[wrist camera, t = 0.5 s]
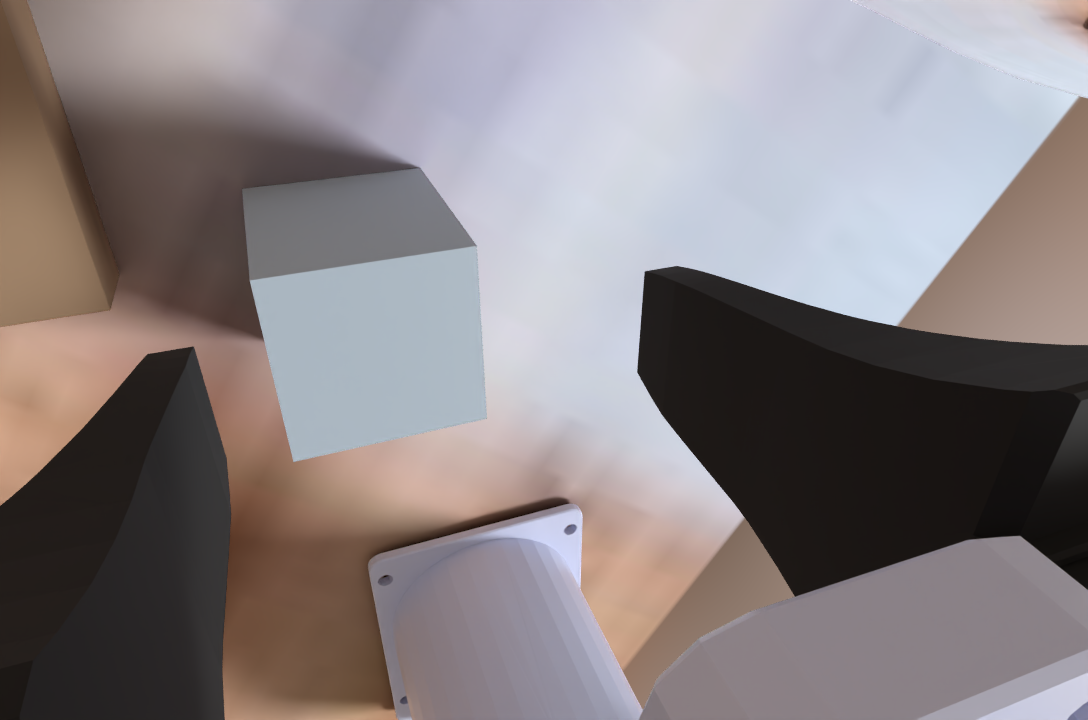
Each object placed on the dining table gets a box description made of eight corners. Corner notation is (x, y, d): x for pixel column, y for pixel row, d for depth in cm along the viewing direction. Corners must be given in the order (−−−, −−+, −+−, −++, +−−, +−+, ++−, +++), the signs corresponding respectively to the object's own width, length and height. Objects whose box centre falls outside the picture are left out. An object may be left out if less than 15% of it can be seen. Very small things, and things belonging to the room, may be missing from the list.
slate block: (434, 314, 22) (486, 418, 18) (277, 342, 21) (293, 461, 17) (419, 167, 20) (476, 245, 16) (241, 188, 19) (249, 280, 14)
